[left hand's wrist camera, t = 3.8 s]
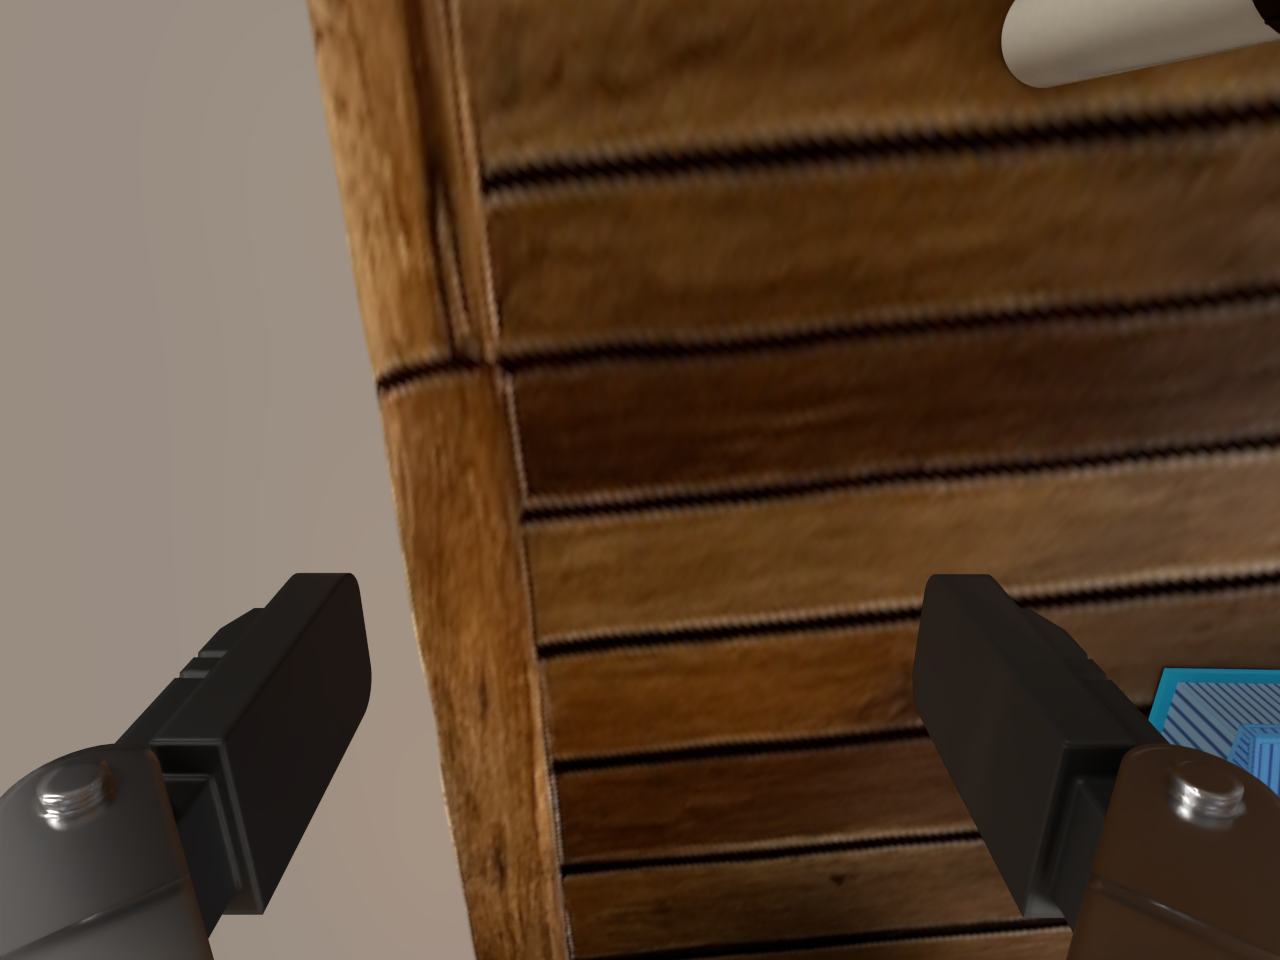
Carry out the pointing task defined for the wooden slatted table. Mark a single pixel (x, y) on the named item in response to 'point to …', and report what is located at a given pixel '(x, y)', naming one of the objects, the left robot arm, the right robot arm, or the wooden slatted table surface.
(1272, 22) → the lid
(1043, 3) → the cream bottle
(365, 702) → the left robot arm
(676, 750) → the wooden slatted table surface
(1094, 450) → the wooden slatted table surface
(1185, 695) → the model building
